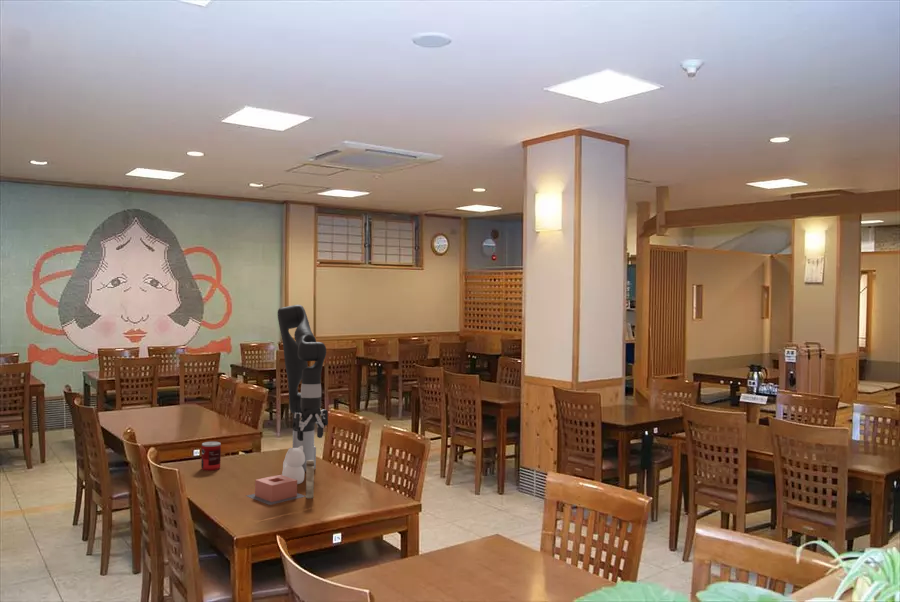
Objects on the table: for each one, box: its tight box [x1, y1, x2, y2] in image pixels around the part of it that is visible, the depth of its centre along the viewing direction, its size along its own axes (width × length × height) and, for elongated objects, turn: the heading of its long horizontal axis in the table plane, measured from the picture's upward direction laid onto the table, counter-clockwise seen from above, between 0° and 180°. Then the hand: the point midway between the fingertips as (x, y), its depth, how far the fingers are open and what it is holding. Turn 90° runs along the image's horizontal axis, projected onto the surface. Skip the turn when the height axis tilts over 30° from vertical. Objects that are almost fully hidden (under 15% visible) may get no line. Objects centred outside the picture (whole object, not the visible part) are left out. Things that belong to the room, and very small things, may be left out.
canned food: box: [200, 441, 222, 472], centre depth 302 cm, size 8×8×11 cm
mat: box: [246, 492, 306, 506], centre depth 261 cm, size 16×16×1 cm
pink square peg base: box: [254, 474, 298, 502], centre depth 261 cm, size 11×11×6 cm
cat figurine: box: [281, 446, 306, 485], centre depth 281 cm, size 9×12×15 cm
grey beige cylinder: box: [305, 460, 315, 500], centre depth 260 cm, size 3×3×14 cm
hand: (310, 439), depth 260 cm, fingers open, 8 cm apart
